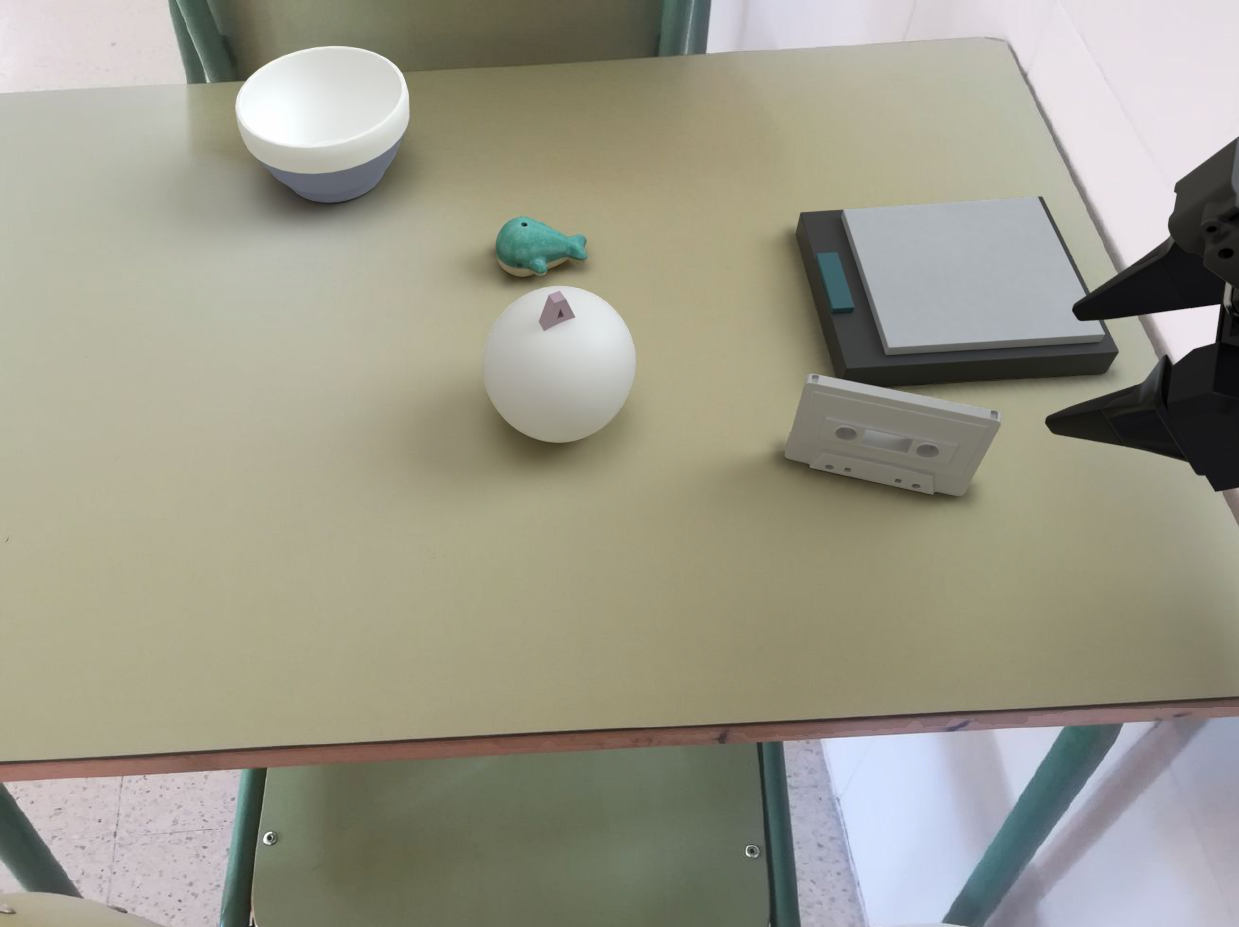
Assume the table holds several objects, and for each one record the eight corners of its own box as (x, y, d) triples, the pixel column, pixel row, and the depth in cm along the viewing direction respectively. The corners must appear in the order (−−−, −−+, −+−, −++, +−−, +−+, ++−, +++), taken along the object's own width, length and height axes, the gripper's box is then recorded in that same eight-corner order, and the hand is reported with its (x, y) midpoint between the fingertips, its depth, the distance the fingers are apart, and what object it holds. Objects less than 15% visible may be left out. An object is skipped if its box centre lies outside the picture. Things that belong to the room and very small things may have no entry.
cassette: (965, 482, 71) (1005, 405, 64) (962, 503, 70) (1003, 428, 63) (786, 443, 73) (807, 366, 67) (781, 463, 73) (802, 387, 66)
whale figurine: (498, 238, 87) (496, 199, 84) (587, 237, 86) (588, 198, 83) (494, 286, 84) (492, 248, 81) (586, 286, 83) (587, 248, 80)
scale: (1032, 218, 84) (1046, 187, 82) (1106, 373, 75) (1125, 343, 73) (794, 234, 85) (802, 203, 83) (839, 389, 76) (848, 360, 73)
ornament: (566, 494, 72) (568, 372, 62) (459, 421, 76) (444, 296, 66) (658, 408, 76) (673, 280, 66) (551, 343, 80) (550, 213, 70)
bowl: (427, 213, 89) (417, 134, 83) (258, 238, 89) (235, 160, 82) (408, 113, 97) (397, 34, 91) (252, 136, 97) (231, 58, 90)
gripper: (1368, 1, 48) (1023, 159, 60) (1355, 261, 39) (954, 384, 51) (1445, 187, 52) (1109, 298, 64) (1450, 459, 43) (1060, 527, 56)
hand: (1062, 367), depth 59 cm, fingers open, 9 cm apart
